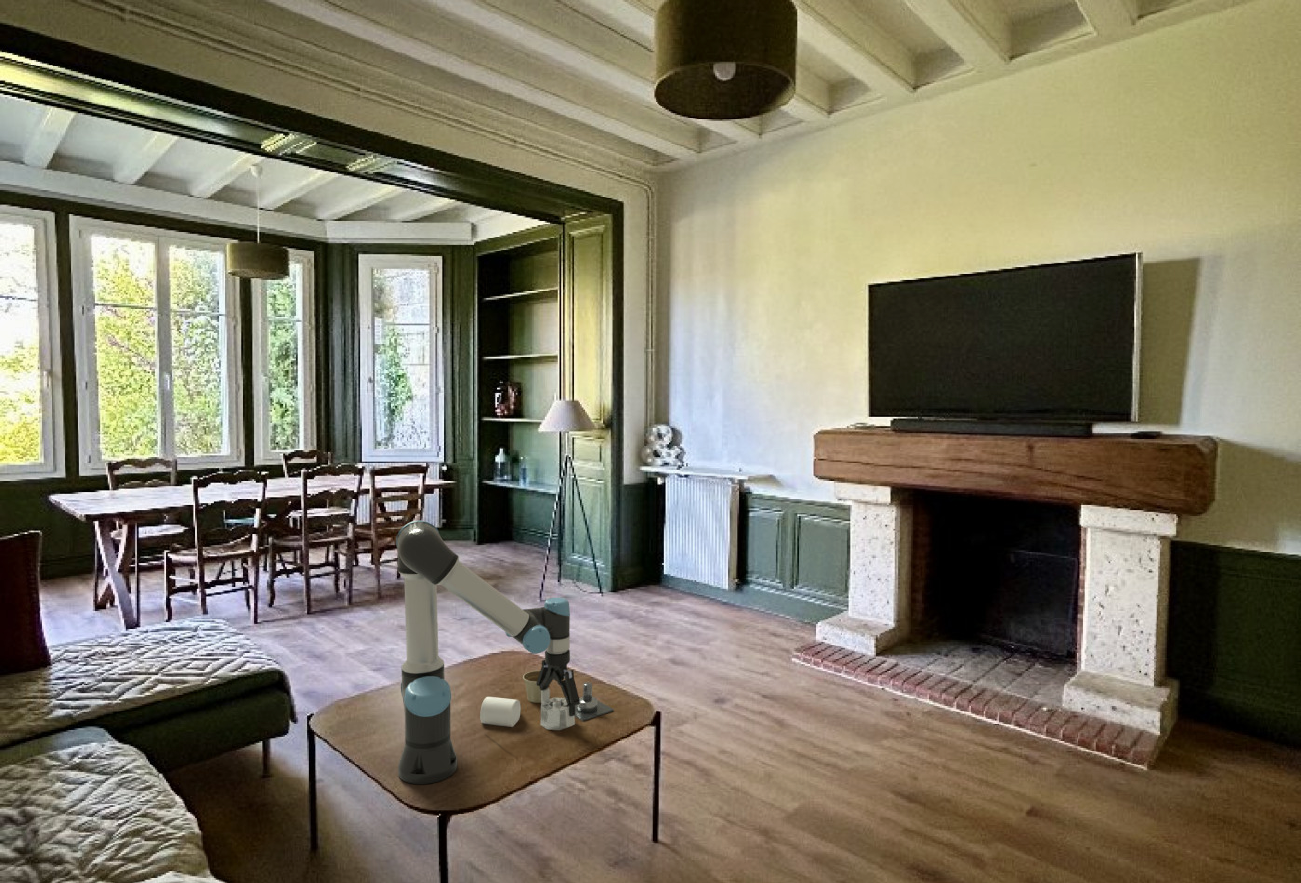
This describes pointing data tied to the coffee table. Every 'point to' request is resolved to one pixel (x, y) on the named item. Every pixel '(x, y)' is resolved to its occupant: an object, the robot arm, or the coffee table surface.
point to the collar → (553, 714)
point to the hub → (590, 705)
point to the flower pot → (532, 686)
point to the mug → (500, 711)
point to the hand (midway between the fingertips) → (557, 717)
